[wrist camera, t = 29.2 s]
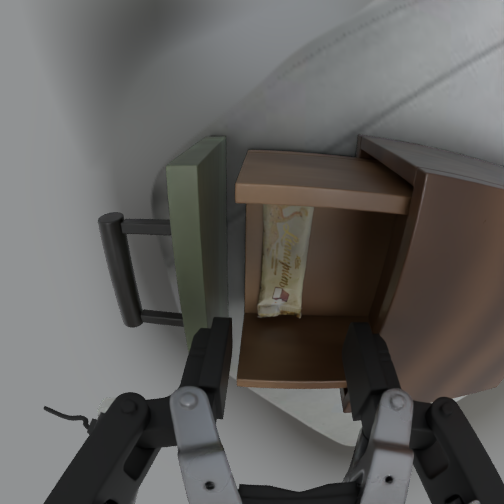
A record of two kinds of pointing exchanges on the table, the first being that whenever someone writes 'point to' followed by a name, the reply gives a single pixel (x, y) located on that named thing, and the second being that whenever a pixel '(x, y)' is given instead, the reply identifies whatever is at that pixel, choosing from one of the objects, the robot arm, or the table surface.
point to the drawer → (215, 255)
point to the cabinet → (444, 273)
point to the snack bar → (283, 259)
